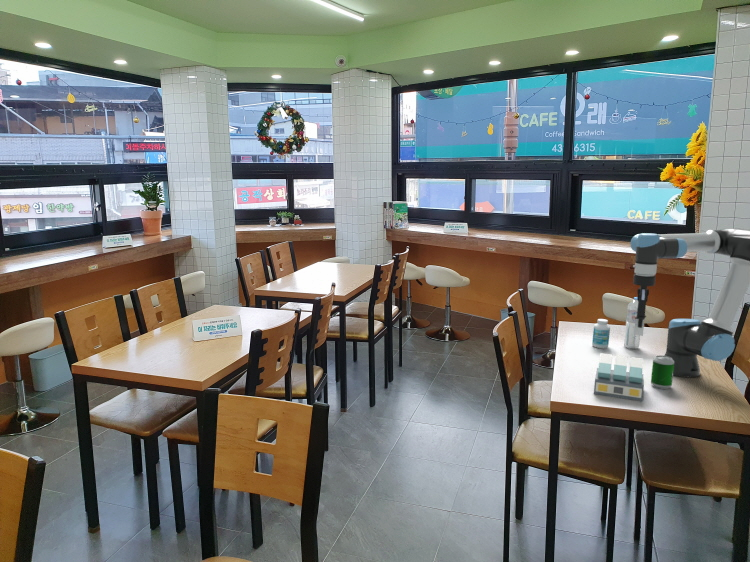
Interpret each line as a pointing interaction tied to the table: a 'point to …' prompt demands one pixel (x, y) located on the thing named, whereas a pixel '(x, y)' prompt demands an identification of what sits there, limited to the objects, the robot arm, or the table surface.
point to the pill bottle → (601, 334)
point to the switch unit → (619, 387)
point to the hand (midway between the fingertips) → (638, 334)
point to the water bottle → (631, 326)
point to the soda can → (662, 372)
